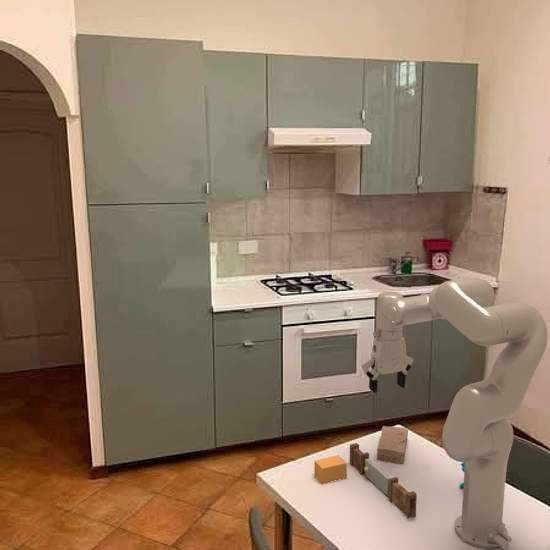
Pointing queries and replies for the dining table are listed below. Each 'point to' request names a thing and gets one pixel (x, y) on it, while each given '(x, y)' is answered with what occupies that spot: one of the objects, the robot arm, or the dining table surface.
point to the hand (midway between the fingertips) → (387, 388)
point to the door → (377, 476)
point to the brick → (392, 444)
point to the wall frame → (396, 491)
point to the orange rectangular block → (330, 469)
